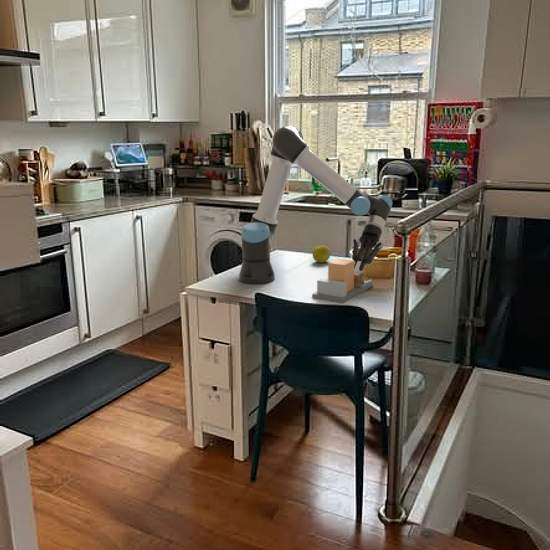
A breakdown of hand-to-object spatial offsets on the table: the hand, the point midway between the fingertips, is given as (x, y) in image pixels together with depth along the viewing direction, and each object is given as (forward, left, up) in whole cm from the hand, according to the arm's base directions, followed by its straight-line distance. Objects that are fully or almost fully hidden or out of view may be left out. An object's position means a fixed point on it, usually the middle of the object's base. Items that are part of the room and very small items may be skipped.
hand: (355, 276), depth 222 cm
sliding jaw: (+2, -3, -2) cm, 4 cm away
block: (+7, -9, -2) cm, 11 cm away
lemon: (-40, +1, -4) cm, 41 cm away
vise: (+6, -7, -4) cm, 10 cm away
